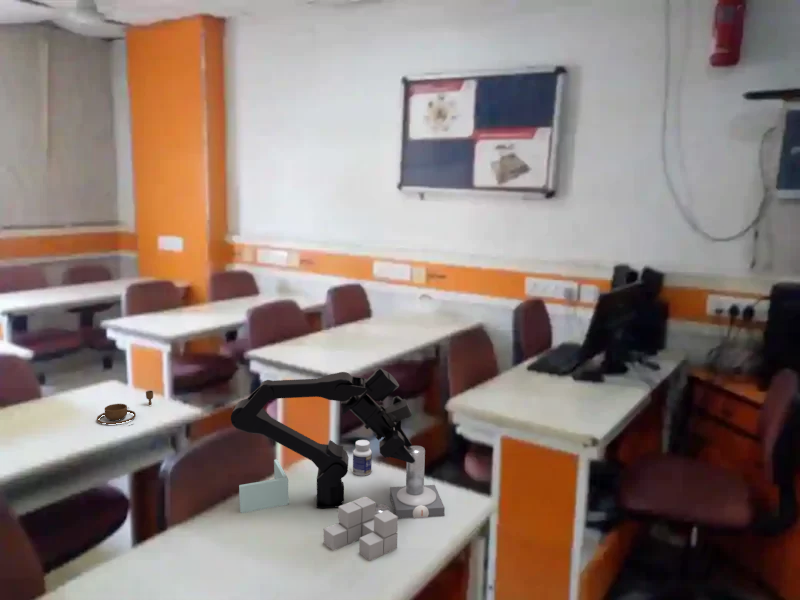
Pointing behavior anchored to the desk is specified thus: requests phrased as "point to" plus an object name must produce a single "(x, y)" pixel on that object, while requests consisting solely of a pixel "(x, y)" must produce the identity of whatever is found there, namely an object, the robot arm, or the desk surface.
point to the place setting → (120, 411)
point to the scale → (416, 503)
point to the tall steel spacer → (415, 471)
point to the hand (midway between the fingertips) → (412, 454)
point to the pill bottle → (362, 458)
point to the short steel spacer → (380, 508)
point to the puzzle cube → (363, 529)
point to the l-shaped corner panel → (265, 492)
